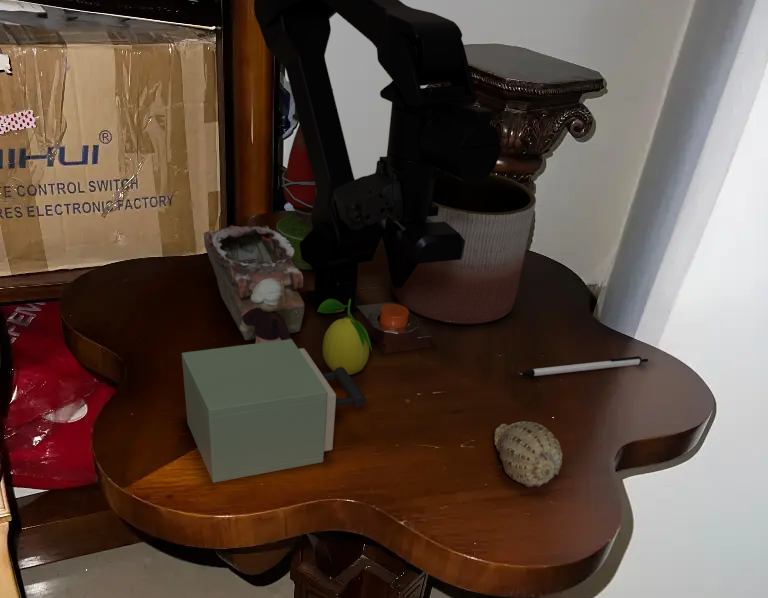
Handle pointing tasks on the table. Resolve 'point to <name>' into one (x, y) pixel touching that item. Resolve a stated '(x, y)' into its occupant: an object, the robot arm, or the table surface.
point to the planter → (474, 253)
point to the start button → (394, 316)
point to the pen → (586, 366)
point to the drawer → (349, 387)
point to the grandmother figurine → (266, 313)
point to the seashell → (528, 452)
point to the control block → (393, 330)
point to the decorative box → (255, 271)
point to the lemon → (344, 340)
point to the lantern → (298, 197)
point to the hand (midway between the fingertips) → (397, 286)
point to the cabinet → (254, 408)
